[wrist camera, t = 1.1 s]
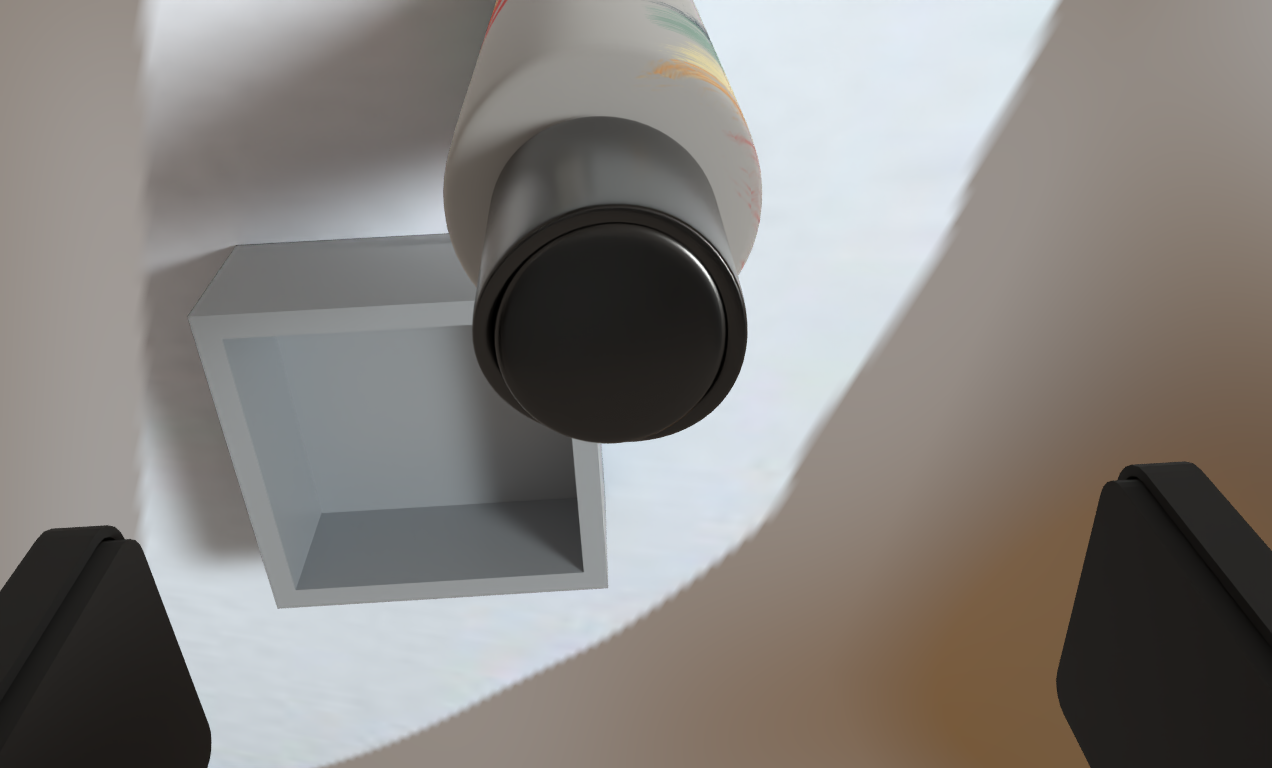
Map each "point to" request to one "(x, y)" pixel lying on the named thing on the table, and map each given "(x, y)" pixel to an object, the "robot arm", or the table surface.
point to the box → (386, 432)
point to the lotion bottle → (604, 215)
